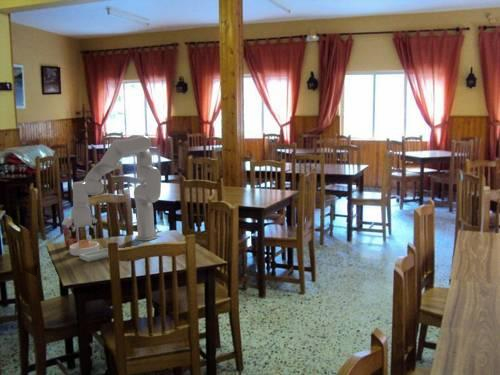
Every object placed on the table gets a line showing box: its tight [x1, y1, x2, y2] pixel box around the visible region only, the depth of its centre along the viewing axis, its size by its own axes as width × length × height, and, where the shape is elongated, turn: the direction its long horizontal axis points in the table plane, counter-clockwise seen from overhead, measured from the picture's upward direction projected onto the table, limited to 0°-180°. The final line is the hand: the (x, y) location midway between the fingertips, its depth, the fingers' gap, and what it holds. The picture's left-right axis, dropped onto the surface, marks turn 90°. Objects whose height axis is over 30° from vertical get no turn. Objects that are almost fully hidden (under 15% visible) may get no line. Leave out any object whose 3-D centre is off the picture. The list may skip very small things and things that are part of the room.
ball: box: [78, 239, 91, 249], centre depth 280 cm, size 6×6×6 cm
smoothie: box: [61, 210, 79, 249], centre depth 290 cm, size 8×8×20 cm
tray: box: [79, 247, 109, 263], centre depth 270 cm, size 16×9×2 cm, turn 134°
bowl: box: [69, 241, 100, 257], centre depth 281 cm, size 15×15×4 cm
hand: (82, 236), depth 279 cm, fingers open, 9 cm apart
